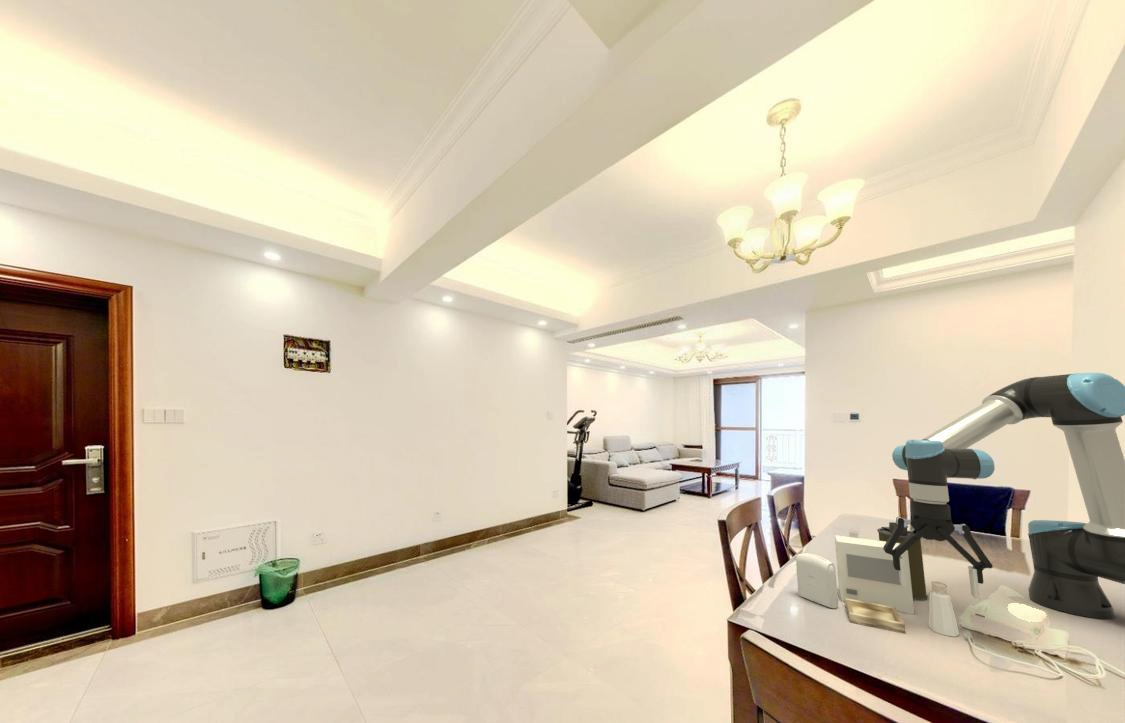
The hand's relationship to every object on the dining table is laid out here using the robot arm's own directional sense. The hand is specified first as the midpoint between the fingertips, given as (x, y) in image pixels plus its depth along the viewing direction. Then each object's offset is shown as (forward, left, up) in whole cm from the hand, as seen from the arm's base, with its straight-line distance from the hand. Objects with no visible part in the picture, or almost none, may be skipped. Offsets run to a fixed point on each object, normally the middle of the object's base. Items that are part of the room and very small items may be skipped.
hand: (938, 590), depth 101 cm
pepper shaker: (0, 0, -10) cm, 10 cm away
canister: (+3, -25, -10) cm, 27 cm away
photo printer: (+26, -4, -10) cm, 28 cm away
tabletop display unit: (+12, -12, -9) cm, 19 cm away
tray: (+14, +1, -9) cm, 17 cm away
